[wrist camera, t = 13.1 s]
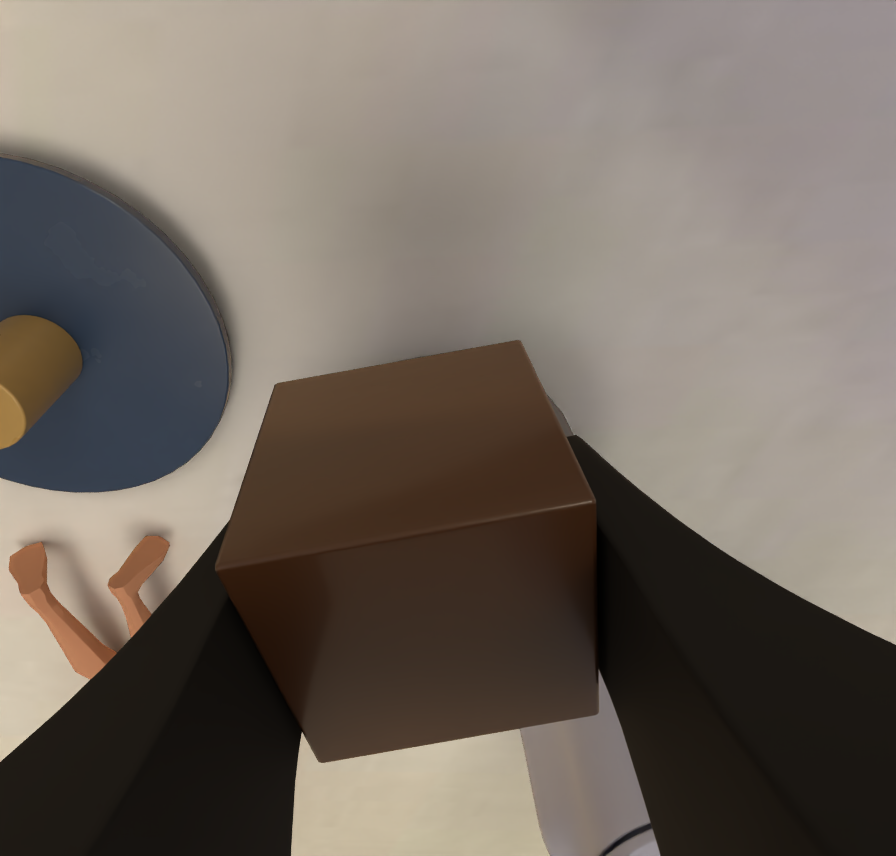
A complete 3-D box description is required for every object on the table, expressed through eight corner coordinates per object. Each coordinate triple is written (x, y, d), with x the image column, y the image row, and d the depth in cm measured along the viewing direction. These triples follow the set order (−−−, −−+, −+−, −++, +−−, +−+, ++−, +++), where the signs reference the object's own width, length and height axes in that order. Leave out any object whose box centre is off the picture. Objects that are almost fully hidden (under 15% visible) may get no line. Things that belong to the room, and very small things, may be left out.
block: (537, 521, 13) (600, 716, 9) (337, 557, 13) (318, 765, 9) (520, 337, 10) (598, 499, 6) (273, 381, 10) (211, 568, 6)
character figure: (18, 533, 23) (184, 834, 36) (-51, 612, 20) (159, 911, 33) (189, 527, 23) (292, 829, 36) (149, 605, 20) (278, 906, 33)
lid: (202, 504, 22) (165, 596, 19) (-137, 424, 19) (-263, 515, 15) (271, 239, 17) (240, 292, 13) (-175, 71, 14) (-377, 79, 10)
